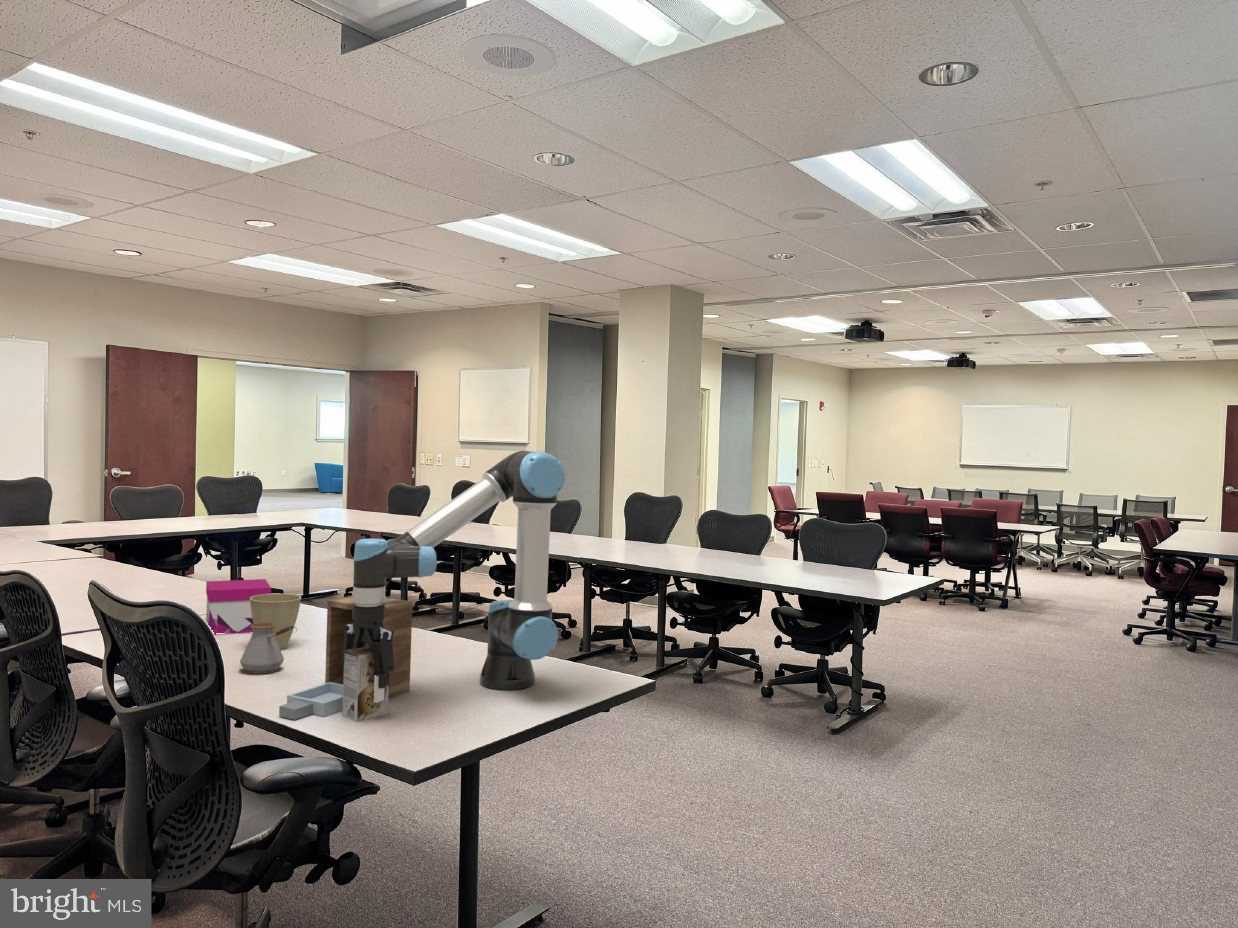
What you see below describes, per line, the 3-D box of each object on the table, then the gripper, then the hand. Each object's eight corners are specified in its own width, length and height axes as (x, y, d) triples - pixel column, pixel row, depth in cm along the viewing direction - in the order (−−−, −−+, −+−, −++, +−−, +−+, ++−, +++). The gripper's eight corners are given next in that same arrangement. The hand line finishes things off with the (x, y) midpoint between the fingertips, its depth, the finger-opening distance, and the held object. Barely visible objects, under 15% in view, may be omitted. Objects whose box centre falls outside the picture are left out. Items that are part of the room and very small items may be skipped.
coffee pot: (231, 669, 239) (233, 617, 239) (270, 662, 249) (271, 611, 248) (272, 685, 226) (274, 629, 226) (311, 676, 235) (312, 623, 235)
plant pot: (288, 654, 258) (289, 602, 258) (239, 652, 259) (241, 600, 258) (307, 643, 273) (308, 594, 273) (261, 641, 274) (262, 592, 273)
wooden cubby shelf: (409, 691, 225) (412, 601, 225) (378, 702, 214) (381, 608, 214) (357, 681, 233) (360, 593, 232) (324, 691, 222) (327, 600, 222)
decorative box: (205, 624, 295) (206, 581, 295) (264, 620, 304) (265, 579, 304) (207, 635, 279) (208, 590, 278) (269, 631, 288) (271, 587, 287)
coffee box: (373, 708, 210) (375, 643, 210) (389, 714, 206) (391, 647, 206) (341, 716, 203) (343, 649, 203) (356, 722, 199) (358, 654, 199)
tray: (365, 701, 214) (365, 689, 214) (305, 723, 197) (306, 709, 197) (329, 694, 219) (329, 681, 219) (268, 714, 202) (268, 701, 202)
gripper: (412, 605, 203) (409, 701, 203) (348, 596, 212) (345, 688, 212) (391, 610, 196) (388, 709, 197) (325, 601, 205) (323, 695, 205)
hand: (366, 698), depth 204 cm, fingers closed on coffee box, 7 cm apart
